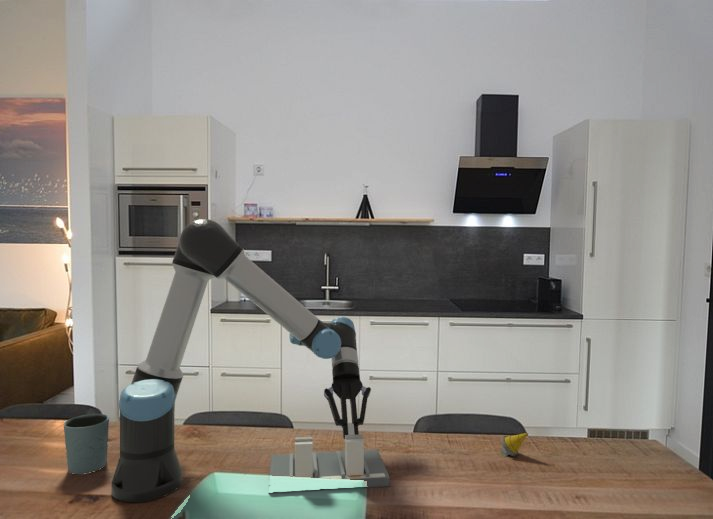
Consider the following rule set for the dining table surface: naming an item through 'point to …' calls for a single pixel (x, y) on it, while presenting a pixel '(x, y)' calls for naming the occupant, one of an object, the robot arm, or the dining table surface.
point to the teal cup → (86, 442)
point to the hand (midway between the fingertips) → (352, 451)
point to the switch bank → (334, 467)
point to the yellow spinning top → (512, 444)
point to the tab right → (354, 455)
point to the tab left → (304, 457)
